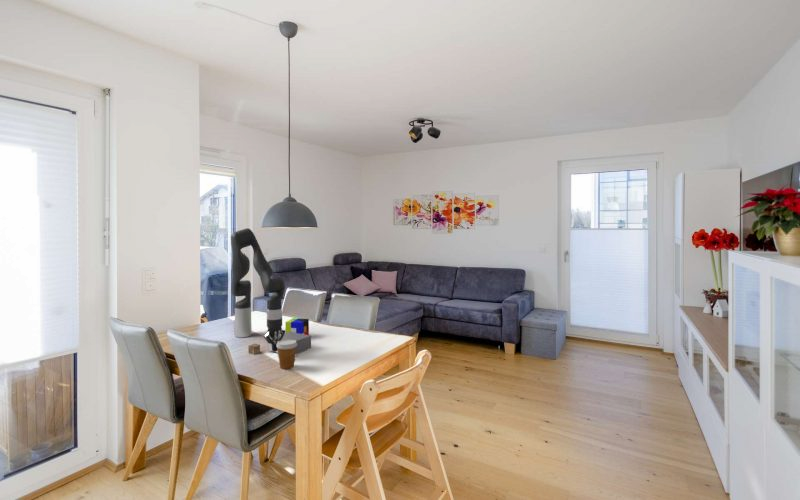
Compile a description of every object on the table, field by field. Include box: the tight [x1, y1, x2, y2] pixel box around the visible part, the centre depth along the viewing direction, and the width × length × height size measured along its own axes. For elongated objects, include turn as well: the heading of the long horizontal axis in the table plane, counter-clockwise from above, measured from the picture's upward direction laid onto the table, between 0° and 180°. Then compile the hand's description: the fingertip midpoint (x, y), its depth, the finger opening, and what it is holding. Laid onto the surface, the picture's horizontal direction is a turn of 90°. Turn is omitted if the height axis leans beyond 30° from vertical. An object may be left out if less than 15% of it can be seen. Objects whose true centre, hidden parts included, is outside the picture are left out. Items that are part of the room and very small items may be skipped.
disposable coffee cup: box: [276, 339, 297, 370], centre depth 187 cm, size 10×10×12 cm
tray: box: [268, 341, 278, 353], centre depth 211 cm, size 15×14×5 cm
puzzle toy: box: [285, 317, 310, 335], centre depth 237 cm, size 10×10×10 cm
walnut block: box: [247, 343, 261, 355], centre depth 208 cm, size 4×4×4 cm
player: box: [272, 332, 312, 356], centre depth 213 cm, size 16×14×7 cm
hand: (275, 350), depth 203 cm, fingers closed
